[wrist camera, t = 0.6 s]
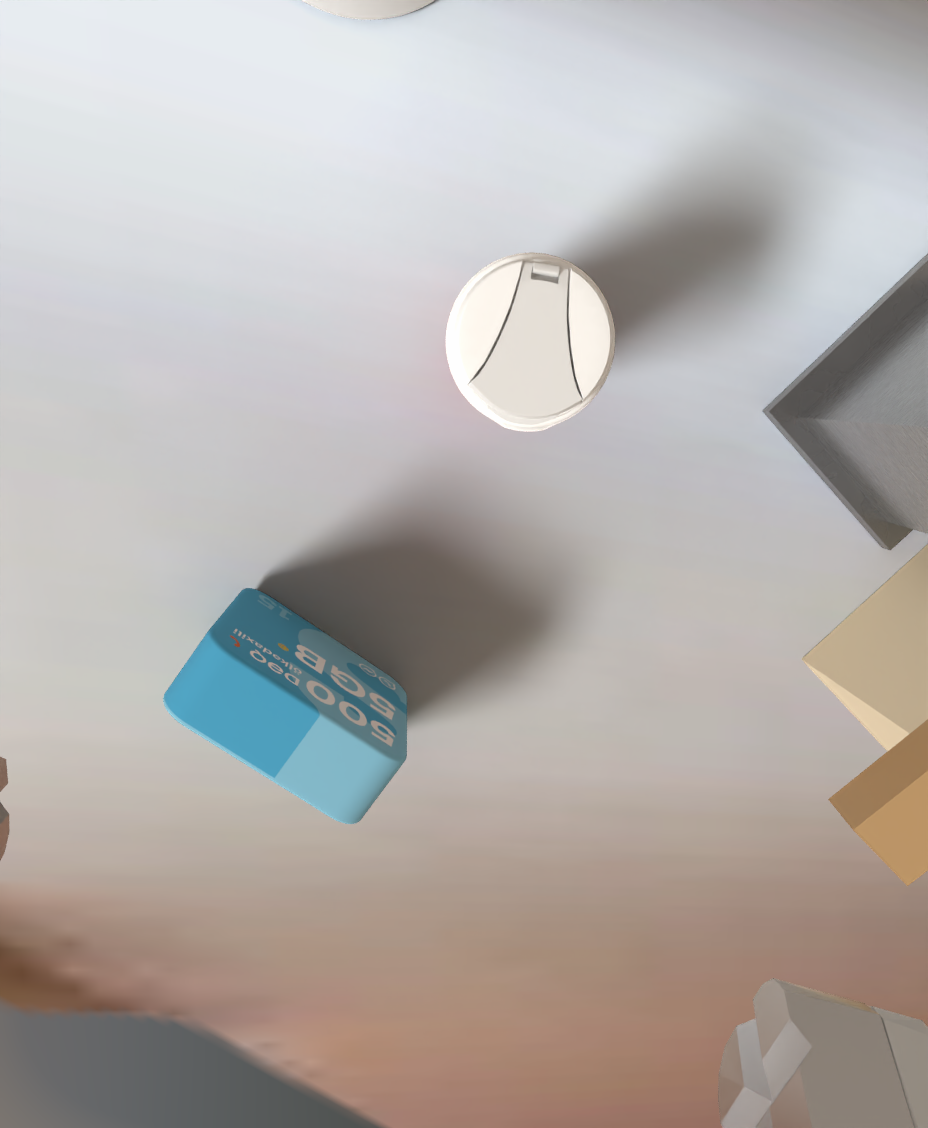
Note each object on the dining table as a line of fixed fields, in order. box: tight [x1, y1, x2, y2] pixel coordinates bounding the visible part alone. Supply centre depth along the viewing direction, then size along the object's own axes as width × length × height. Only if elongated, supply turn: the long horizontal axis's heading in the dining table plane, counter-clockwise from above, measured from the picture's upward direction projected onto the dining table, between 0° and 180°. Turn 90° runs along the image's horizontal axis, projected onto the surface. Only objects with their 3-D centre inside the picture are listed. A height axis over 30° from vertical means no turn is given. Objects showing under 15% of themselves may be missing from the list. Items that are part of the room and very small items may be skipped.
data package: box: [163, 588, 407, 824], centre depth 49 cm, size 12×4×12 cm, turn 54°
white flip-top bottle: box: [446, 253, 615, 432], centre depth 45 cm, size 8×8×14 cm
